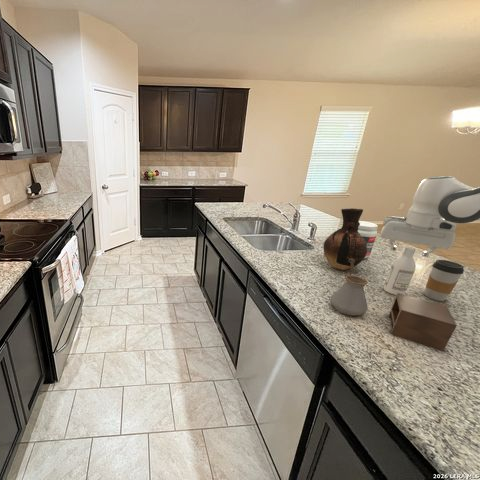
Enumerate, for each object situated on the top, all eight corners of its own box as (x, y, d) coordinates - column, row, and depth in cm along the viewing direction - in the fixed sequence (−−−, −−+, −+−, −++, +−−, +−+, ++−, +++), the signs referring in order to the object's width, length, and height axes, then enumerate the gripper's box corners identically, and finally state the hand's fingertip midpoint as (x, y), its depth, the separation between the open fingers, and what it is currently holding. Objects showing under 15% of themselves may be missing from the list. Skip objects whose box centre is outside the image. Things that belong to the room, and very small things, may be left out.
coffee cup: (447, 305, 97) (464, 270, 92) (418, 295, 104) (432, 262, 98) (450, 298, 102) (467, 264, 96) (422, 289, 108) (436, 257, 103)
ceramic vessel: (359, 280, 115) (380, 216, 104) (315, 268, 125) (330, 210, 115) (361, 263, 130) (379, 207, 120) (322, 255, 141) (336, 202, 130)
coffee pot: (368, 323, 87) (381, 285, 82) (329, 312, 93) (339, 277, 87) (359, 293, 105) (370, 261, 99) (326, 286, 110) (335, 255, 105)
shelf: (434, 329, 85) (446, 305, 81) (443, 351, 76) (457, 325, 72) (388, 315, 92) (397, 292, 88) (391, 334, 83) (401, 309, 79)
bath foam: (409, 295, 104) (428, 250, 96) (395, 297, 102) (413, 252, 95) (391, 286, 110) (408, 244, 103) (378, 287, 109) (394, 245, 102)
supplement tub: (370, 261, 133) (382, 228, 126) (341, 256, 139) (350, 224, 132) (367, 253, 143) (377, 222, 136) (340, 248, 149) (348, 218, 143)
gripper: (386, 216, 98) (375, 249, 103) (463, 227, 87) (446, 263, 92) (385, 213, 103) (374, 244, 108) (458, 222, 92) (442, 257, 97)
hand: (408, 253), depth 100 cm, fingers open, 8 cm apart
